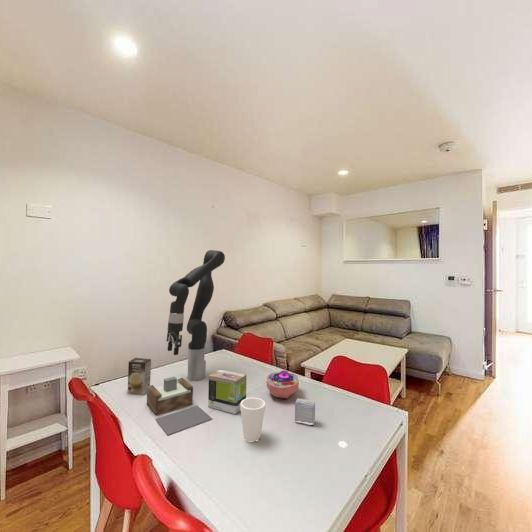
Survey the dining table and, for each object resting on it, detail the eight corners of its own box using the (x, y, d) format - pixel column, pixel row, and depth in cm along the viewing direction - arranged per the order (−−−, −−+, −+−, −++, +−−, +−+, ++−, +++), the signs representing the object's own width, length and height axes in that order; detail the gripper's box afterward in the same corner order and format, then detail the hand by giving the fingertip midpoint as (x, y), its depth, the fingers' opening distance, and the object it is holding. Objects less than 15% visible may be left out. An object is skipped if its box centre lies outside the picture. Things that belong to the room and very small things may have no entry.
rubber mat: (197, 406, 130) (197, 405, 130) (212, 419, 119) (212, 418, 119) (155, 419, 117) (155, 418, 117) (167, 435, 107) (167, 434, 107)
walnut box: (182, 394, 140) (182, 377, 140) (192, 404, 131) (193, 386, 131) (146, 404, 130) (147, 386, 130) (155, 415, 120) (155, 396, 120)
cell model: (259, 400, 137) (259, 376, 137) (273, 384, 156) (274, 364, 156) (292, 407, 131) (293, 383, 131) (303, 390, 149) (304, 369, 149)
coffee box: (126, 393, 140) (127, 361, 140) (133, 388, 146) (134, 357, 146) (144, 395, 139) (145, 362, 139) (150, 389, 145) (151, 358, 145)
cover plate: (180, 383, 140) (180, 371, 140) (190, 392, 131) (191, 379, 131) (149, 391, 130) (149, 378, 130) (158, 401, 121) (158, 387, 121)
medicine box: (315, 421, 119) (315, 401, 119) (313, 427, 115) (313, 405, 115) (296, 417, 122) (297, 397, 122) (294, 423, 118) (294, 402, 118)
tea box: (246, 405, 132) (247, 373, 132) (235, 415, 123) (236, 381, 123) (219, 398, 138) (220, 368, 138) (207, 407, 129) (208, 375, 129)
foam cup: (255, 448, 101) (255, 412, 101) (234, 439, 106) (235, 404, 106) (268, 435, 109) (269, 401, 109) (249, 427, 114) (250, 395, 114)
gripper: (188, 323, 144) (185, 355, 144) (177, 319, 155) (174, 348, 155) (174, 324, 140) (170, 357, 139) (163, 319, 151) (160, 350, 150)
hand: (172, 352), depth 147 cm, fingers open, 8 cm apart
